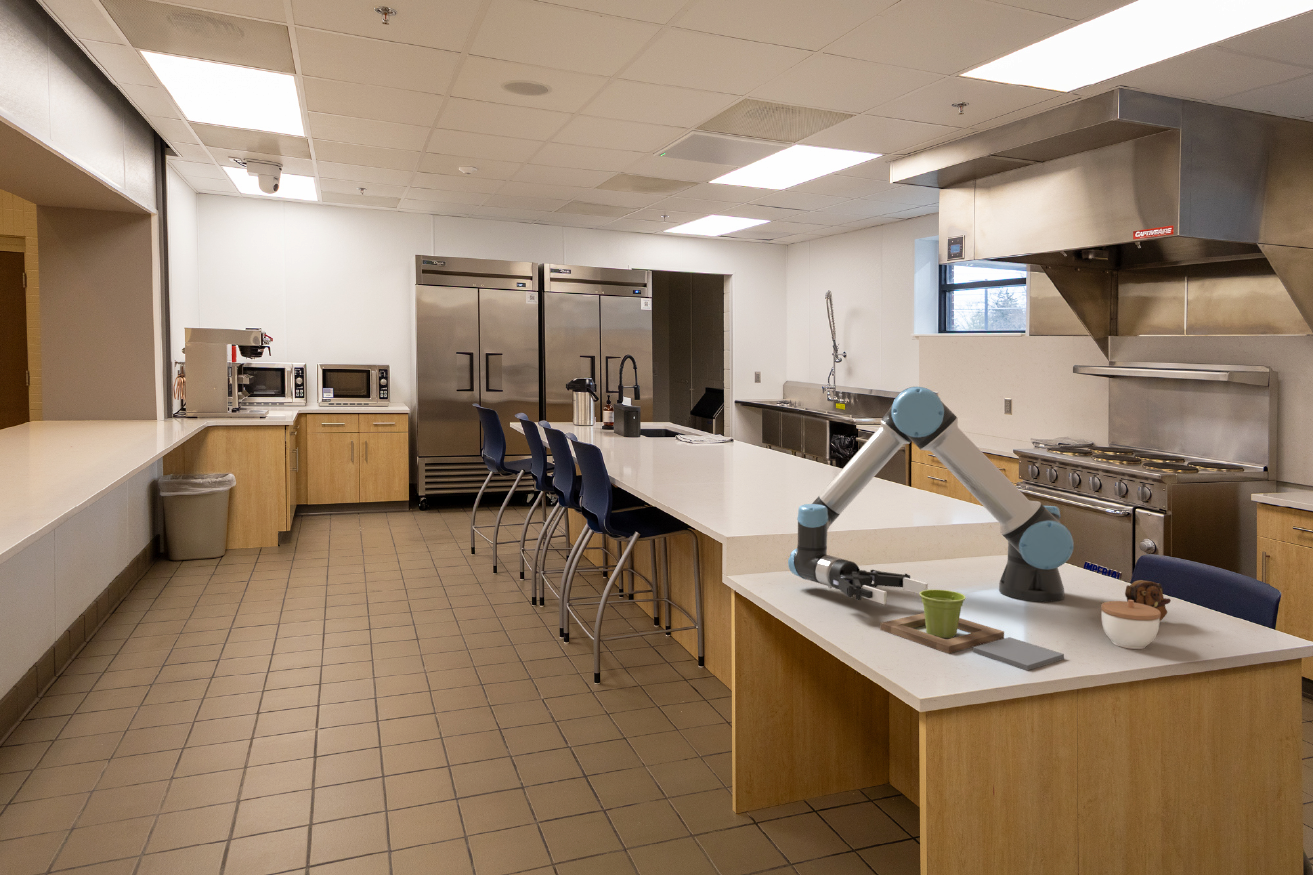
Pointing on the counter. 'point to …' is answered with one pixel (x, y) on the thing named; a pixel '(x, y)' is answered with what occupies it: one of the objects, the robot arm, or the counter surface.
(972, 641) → the walnut frame
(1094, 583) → the counter surface
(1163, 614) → the wooden carving
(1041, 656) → the charcoal mat
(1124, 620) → the lidded jar
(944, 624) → the plant pot
